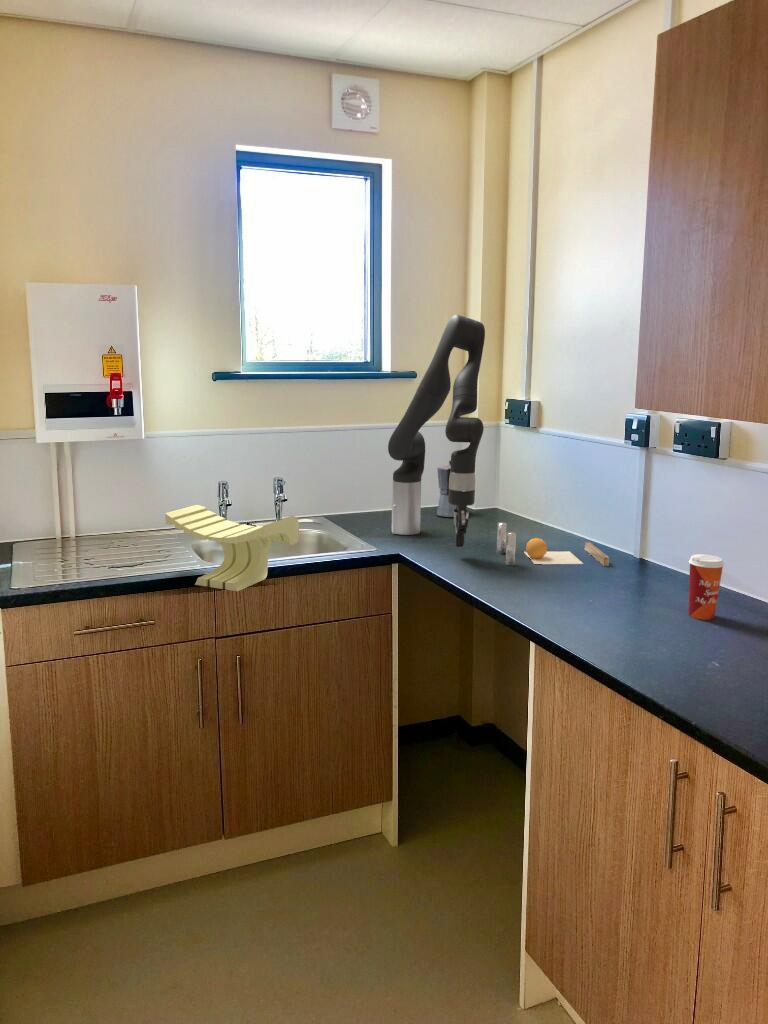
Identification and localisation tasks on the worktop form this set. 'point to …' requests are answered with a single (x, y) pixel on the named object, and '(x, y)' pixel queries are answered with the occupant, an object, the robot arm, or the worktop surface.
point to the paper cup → (704, 585)
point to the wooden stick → (597, 554)
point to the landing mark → (556, 558)
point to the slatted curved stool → (234, 544)
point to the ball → (536, 548)
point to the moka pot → (444, 492)
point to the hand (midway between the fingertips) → (459, 546)
